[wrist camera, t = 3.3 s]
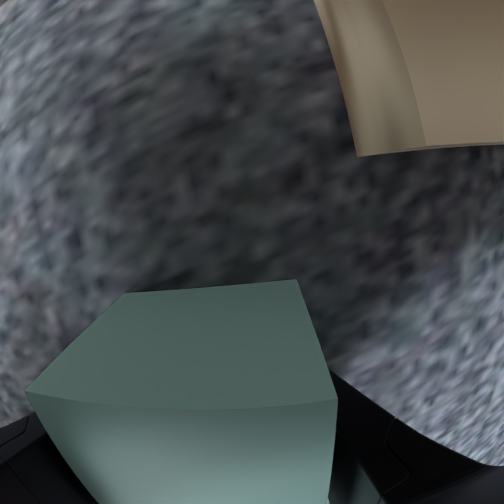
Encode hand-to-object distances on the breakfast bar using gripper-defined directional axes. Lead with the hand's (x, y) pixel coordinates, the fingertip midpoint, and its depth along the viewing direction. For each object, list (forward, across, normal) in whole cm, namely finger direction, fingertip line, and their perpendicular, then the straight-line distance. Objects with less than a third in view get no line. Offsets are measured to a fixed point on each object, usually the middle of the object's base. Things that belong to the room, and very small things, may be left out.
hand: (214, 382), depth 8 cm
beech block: (+1, -8, -10) cm, 13 cm away
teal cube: (+1, 0, 0) cm, 1 cm away
